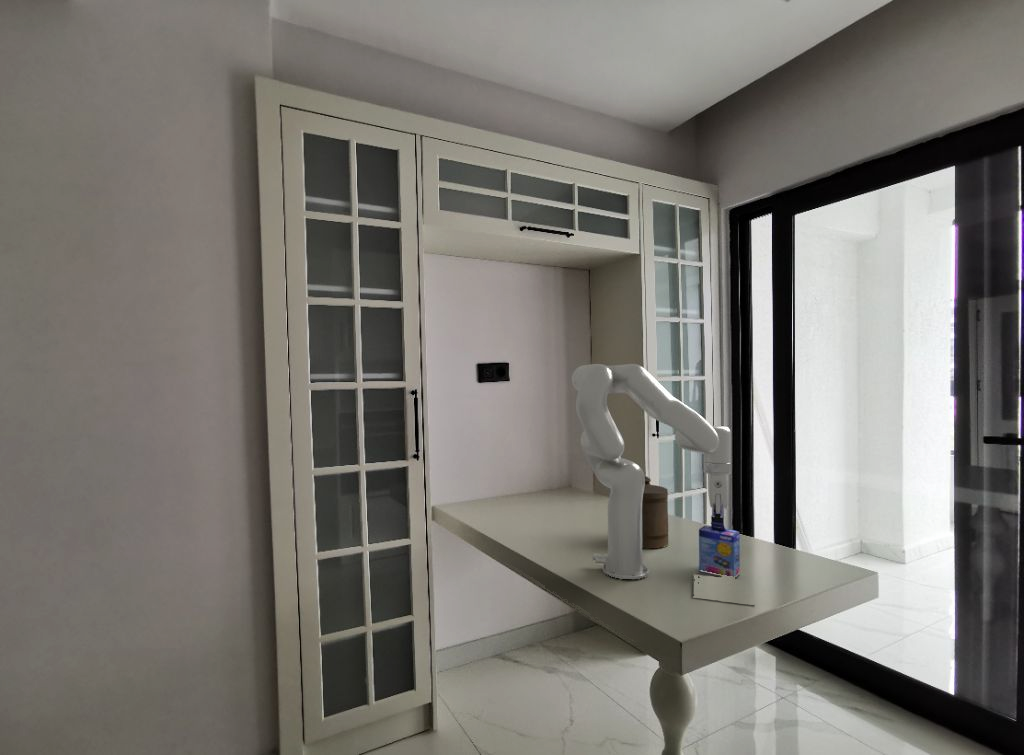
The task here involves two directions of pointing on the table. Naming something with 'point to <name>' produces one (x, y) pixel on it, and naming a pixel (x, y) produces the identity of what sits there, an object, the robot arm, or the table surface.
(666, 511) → the wooden container
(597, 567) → the table surface
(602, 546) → the table surface
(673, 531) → the table surface
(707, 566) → the ink cartridge box
